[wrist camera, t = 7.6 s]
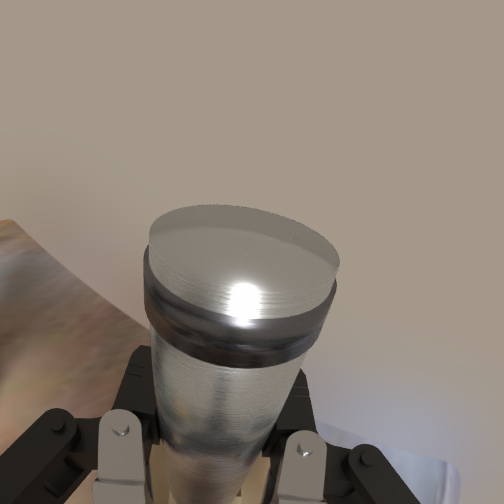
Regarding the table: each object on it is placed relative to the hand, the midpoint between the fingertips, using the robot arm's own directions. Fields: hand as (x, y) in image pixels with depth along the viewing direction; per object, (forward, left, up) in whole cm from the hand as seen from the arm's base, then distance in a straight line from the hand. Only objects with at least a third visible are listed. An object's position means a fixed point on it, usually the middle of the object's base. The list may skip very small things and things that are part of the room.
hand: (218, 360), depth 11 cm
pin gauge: (0, -3, -8) cm, 9 cm away
